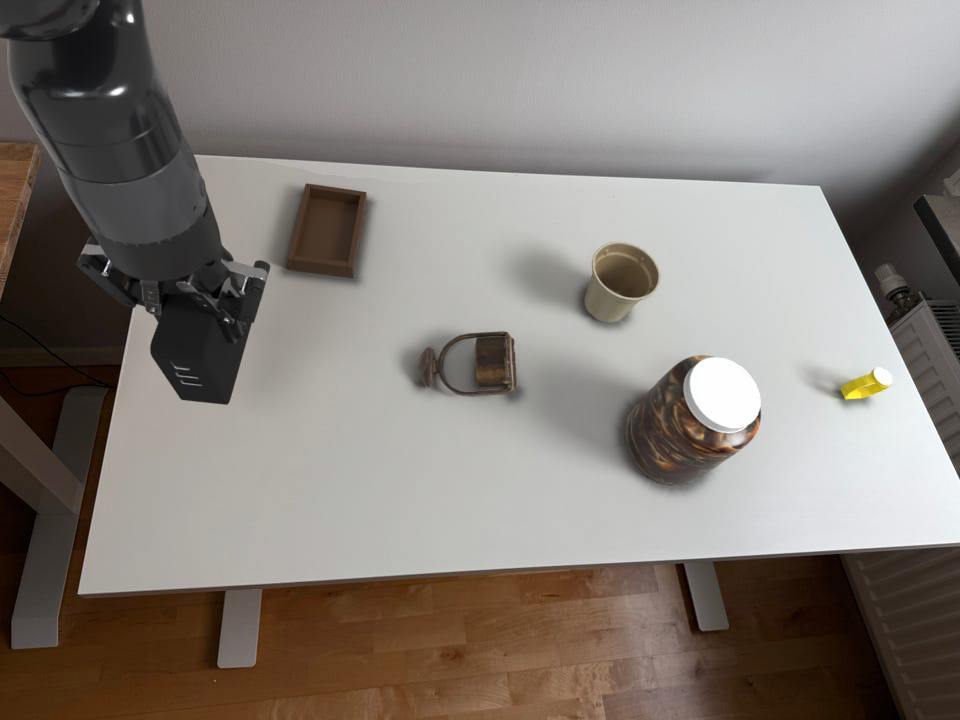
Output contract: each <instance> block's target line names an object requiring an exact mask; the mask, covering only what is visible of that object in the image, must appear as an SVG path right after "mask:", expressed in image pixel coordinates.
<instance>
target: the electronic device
mask: <svg viewBox="0 0 960 720" xmlns="http://www.w3.org/2000/svg"><path fill="white" fill-rule="evenodd" d="M230 280H231V286H232V287H233V288H234V290H235V291H236V292H237V293H238V294H239V296H240V297H244V296H245V295H241V294H240V293H239V291H240V287H238V286H237V282H236V281H235V280H234V279H233V278H231V277H230ZM218 322H219V320H218V319H217V318H216V317H215V316H214V314H213V313H212V312H204V311H203V310H202V309H201V308H200V307H199V306H198V304H197V303H196V302H195V301H194V300H193V299H192V298H191V297H189V296H185V295H181V294H172V295H171V294H169V295H168V298H167V300H166V303H165V306H164V309H163V311H162V314H161V317H160V319H159V322H157V325H156V328H155V330H154V333H153V335H152V338H151V342H150V346H149V353H150V356H151V358H152V359H153V361H154V363H155V364H156V365H157V367H158V368H159V370H160V371H161V372H162V374H163V376H164V377H165V378H166V380H167V382H168V383H169V384H170V386H171V387H172V389H173V391H174V392H175V393H176V395H177V396H178V398H179V399H180V400H181V401H187V402H195V403H203V404H205V403H206V404H216V405H225V406H227V405H229V404H230V401H231V399H232V395H233V392H234V388H235V385H236V382H237V377H238V374H239V371H240V367H241V363H242V361H243V356H244V354H245V349H246V346H247V342H248V338H249V335H250V331H251V328H252V324H253V323H251V324H249V323H246V325H245V329H244V332H243V335H242V338H241V339H237V342H236V343H235V344H233V343H227V342H226V340H225V337H224V335H223V333H222V330H221V328H220V326H219V323H218Z"/></svg>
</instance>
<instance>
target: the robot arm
mask: <svg viewBox="0 0 960 720" xmlns="http://www.w3.org/2000/svg"><path fill="white" fill-rule="evenodd" d="M144 7H145V6H144V3H143V0H0V39H2V40H7V41H6V42H7V51H6V52H7V57H6V58H7V73H8V79H9V83H10V86H11V89H12V91H13V94H14V96H15V98H16V100H17V102H18V104H19V107H20V108H21V109H22V111H23V113H24V115H25V117H26V118H27V120H28V122H29V123H30V125H31V126H32V128H33V130H34V132H35V133H36V135H37V136H38V138H39V140H40V142H41V143H42V145H43V146H44V148H45V150H46V151H47V153H48V154H49V156H50V158H51V159H52V161H53V163H54V165H55V167H56V170H57V172H58V174H59V178H60V180H61V182H62V184H63V187H64V189H65V192H67V195H68V196H69V198H70V199H71V201H72V203H73V204H74V206H75V207H76V209H77V211H78V212H79V214H80V216H81V218H82V219H83V220H84V222H85V224H86V225H87V227H88V228H89V230H90V232H91V234H92V235H93V236H91V235H90V236H89V237H88V238H87V241H86V243H85V244H84V247H83V249H82V251H81V252H80V255H79V257H78V259H77V261H76V263H75V265H76V267H77V268H79V269H80V270H81V271H82V272H83V273H84V274H85V275H87V277H89V278H90V279H91V280H92V281H94V282H95V283H96V284H97V285H98V286H99V287H100V288H101V289H103V290H104V291H105V292H106V293H107V294H109V295H110V296H111V297H112V298H113V299H114V300H116V301H117V302H118V303H119V304H120V305H122V306H123V307H126V308H129V309H134V308H136V307H137V305H138V306H141V307H144V309H145V311H146V312H147V313H148V314H150V315H153V317H154V318H155V320H156V322H157V323H158V322H159V319H160V317H161V314H162V311H163V309H164V306H165V303H166V300H167V298H168V295H169V294H171V295H172V294H181V295H185V296H189V297H191V298H192V299H193V300H194V301H195V302H196V303H197V304H198V306H199V307H200V308H201V309H202V310H203V311H204V312H212V313H213V314H214V316H215V317H216V318H217V319H218V320H219V322H218V323H219V326H220V328H221V330H222V333H223V335H224V337H225V340H226V342H227V343H233V344H235V343H236V342H237V339H241V338H242V335H243V332H244V329H245V325H246V323H249V324H251V323H252V324H254V323H255V321H256V317H257V315H258V311H259V308H260V304H261V302H262V298H263V294H264V292H265V287H266V285H267V281H268V278H269V275H270V270H271V264H270V263H268V262H267V261H265V260H262V259H261V260H260V259H257V260H255V261H254V263H253V266H251V265H249V264H245V263H242V262H238V261H236V260H235V259H234V257H233V255H232V254H231V252H229V250H227V248H225V247H224V245H223V243H222V238H221V233H220V227H219V224H218V220H217V218H216V216H215V212H214V209H213V205H212V204H211V200H210V197H209V195H208V192H207V186H206V182H205V180H204V178H203V176H202V174H201V171H200V168H199V165H198V162H197V159H196V156H195V155H194V152H193V151H192V148H191V147H190V145H189V143H188V141H187V139H186V137H185V135H184V134H183V131H182V128H181V126H180V123H179V120H178V116H177V114H176V112H175V109H174V106H173V103H172V99H171V97H170V94H169V92H168V88H167V86H166V84H165V80H164V78H163V76H162V73H161V72H160V70H159V69H160V68H159V67H158V65H157V62H156V59H155V56H154V52H153V48H152V45H151V41H150V35H149V30H148V26H147V25H148V24H147V19H146V14H145V8H144ZM230 277H231V278H233V279H234V280H235V281H236V282H237V286H238V287H240V291H239V293H240V294H241V295H245V296H244V297H240V296H239V294H238V293H237V292H236V291H235V290H234V288H233V287H232V286H231V280H230ZM123 280H124V281H125V282H126V284H125V286H123ZM252 324H251V325H252Z"/></svg>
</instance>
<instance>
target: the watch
mask: <svg viewBox="0 0 960 720" xmlns="http://www.w3.org/2000/svg"><path fill="white" fill-rule="evenodd" d="M891 385H893V376H892V373H890V372H889V370H887V369H885V368H884V367H882V366H881V367H880V366H878V367H875V368H873V369H872V370H871V371H870V373H869V374H865V375H862V376H859V377H857V378H854V379H852V380H850V381H848V382H846V383H844V384H843V385H842V386H841V387H840V389H839V390H840V392H841V394H842V396H843V398H844V400H845V401H846V400H858V399H865V398H868V397H871V396H874V395H877V394H879V393H881V392H884V391H886V390H887V389H889V388H890V387H891Z"/></svg>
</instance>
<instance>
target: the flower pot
mask: <svg viewBox="0 0 960 720" xmlns="http://www.w3.org/2000/svg"><path fill="white" fill-rule="evenodd" d="M661 280H662V275H661V269H660V267H659V264H658V263H657V262H656V260H655V258H654V257H653V256H652V255H651V254H650V253H649V252H648V251H647V250H646V249H644V248H642V247H640V246H639V245H636V244H634V243H632V242H627V241H610V242H607V243H605V244H603V245H601V246H599V248H597V250H596V251H595V252H594V254H593V257H592V260H591V276H590V280H589V283H588V286H587V289H586V293H585V294H584V300H583V301H584V303H583V304H584V307H585V309H586V311H587V312H588V313H589V314H591V316H592V317H593V318H594V319H595V320H597V321H599V322H603V323H609V324H611V323H616V322H618V321H620V320H621V319H623V318H624V317H625V316H626V315H627V314H629V312H630V311H631V310H632V309H633V308H634V307H635V306H636V305H637V304H638V303H639V302H641V301H643V300H646V299H648V298H650V297H651V296H653V295H654V294H655V293H656V292H657V291H658V289H659V287H660V285H661Z"/></svg>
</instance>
